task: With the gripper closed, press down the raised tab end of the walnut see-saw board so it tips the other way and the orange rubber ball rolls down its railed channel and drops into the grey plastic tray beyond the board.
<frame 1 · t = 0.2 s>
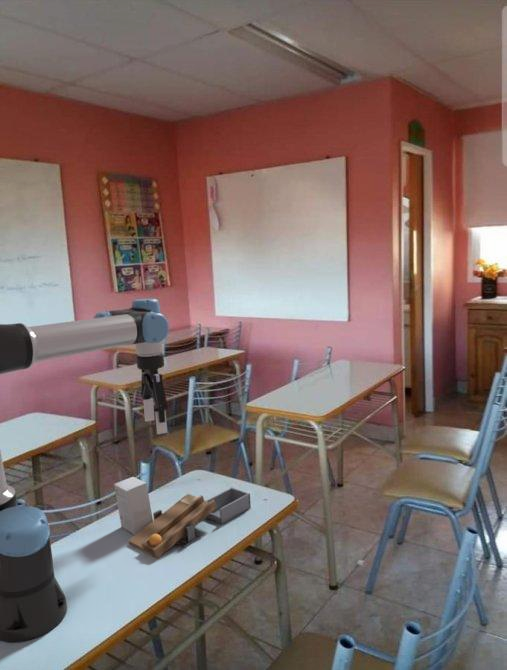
hand: (155, 426, 158), 27 cm above the table, fingers open, 13 cm apart
small box: (137, 527, 156), on the table, touching pivot bracket
seesaw: (172, 521, 151), point 4 cm above the table, hinge at -12.8°, touching ball
ball: (155, 540, 142), point 3 cm above the table, tilted 21°, touching seesaw
pivot bracket: (174, 534, 151), on the table
tray: (227, 512, 162), on the table
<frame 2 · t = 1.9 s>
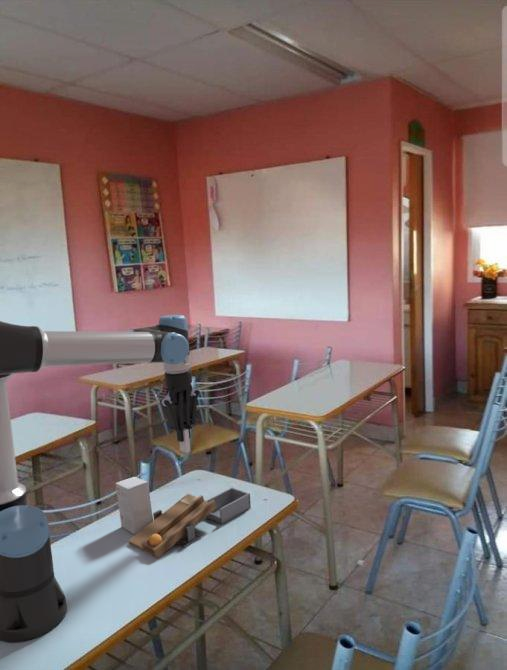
hand: (185, 451, 157), 20 cm above the table, fingers closed
nothing on the table moved.
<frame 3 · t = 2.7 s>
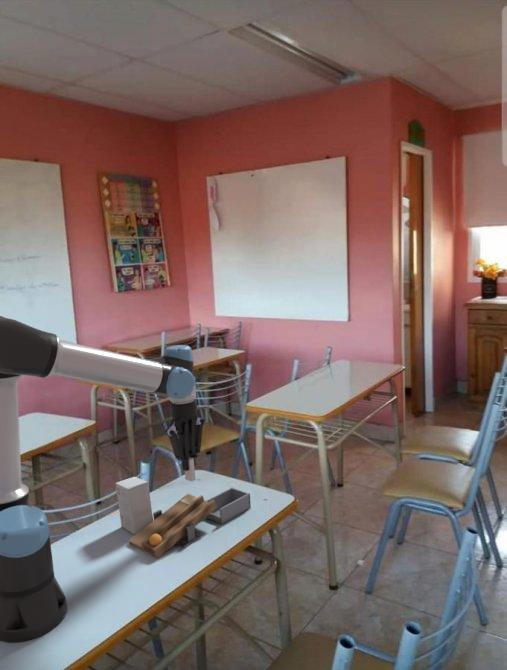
hand: (190, 479, 159), 11 cm above the table, fingers closed
nothing on the table moved.
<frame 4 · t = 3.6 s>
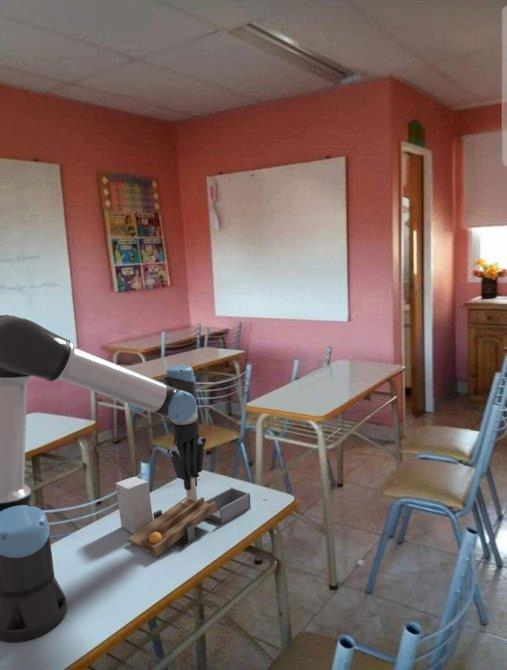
hand: (192, 498, 160), 6 cm above the table, fingers closed
seesaw: (173, 521, 151), point 4 cm above the table, hinge at -9.4°, touching ball, gripper
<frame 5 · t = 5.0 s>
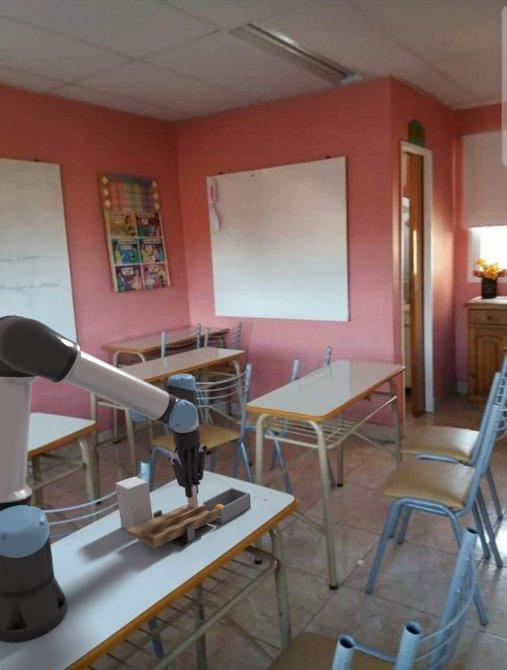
hand: (193, 506, 160), 3 cm above the table, fingers closed
seesaw: (173, 521, 151), point 4 cm above the table, hinge at 3.7°, touching gripper
ball: (219, 509, 159), point 2 cm above the table, tilted 95°
everything else where it was.
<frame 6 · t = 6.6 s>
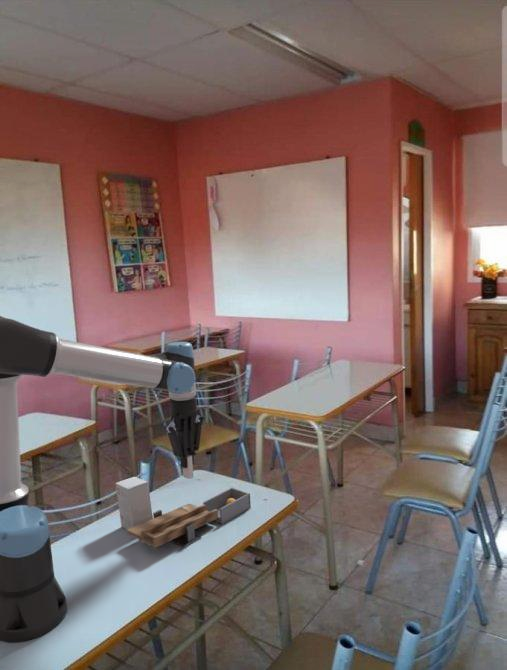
hand: (188, 477, 158), 12 cm above the table, fingers closed
seesaw: (173, 521, 151), point 4 cm above the table, hinge at 3.7°
ball: (231, 503, 163), point 2 cm above the table, tilted 63°, touching tray
everything else where it was.
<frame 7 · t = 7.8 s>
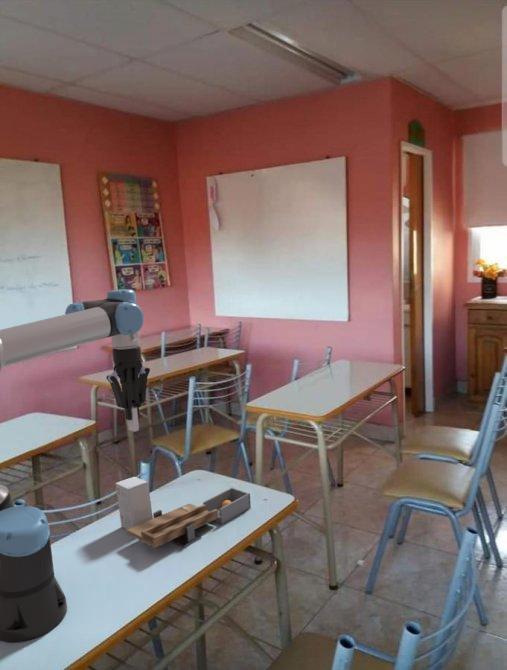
hand: (133, 430, 153), 28 cm above the table, fingers closed
ball: (227, 505, 162), point 2 cm above the table, tilted 124°, touching tray
everything else where it was.
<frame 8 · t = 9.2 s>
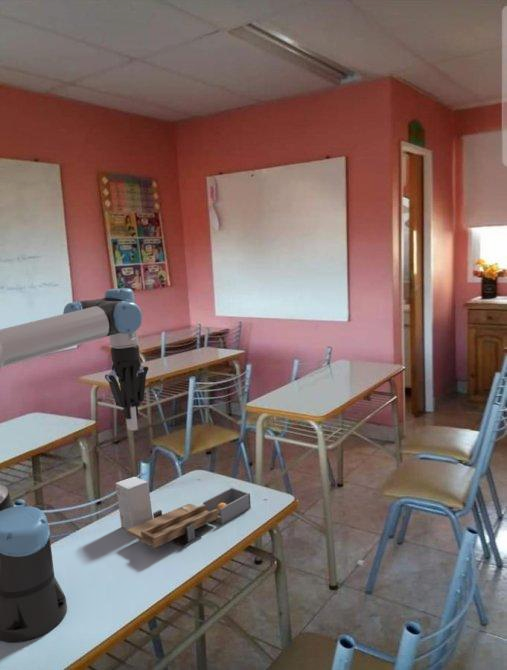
hand: (132, 429, 153), 28 cm above the table, fingers closed
ball: (222, 508, 160), point 2 cm above the table, tilted 165°, touching tray
everything else where it was.
at the end: ball inside the target area on the tray (2.0 cm from its centre), point 2.0 cm above the tray's base; seesaw at +4° (first picture: -13°); ball touching tray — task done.
